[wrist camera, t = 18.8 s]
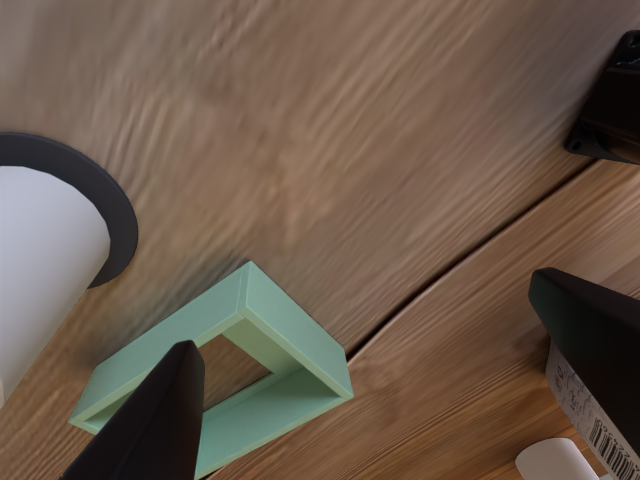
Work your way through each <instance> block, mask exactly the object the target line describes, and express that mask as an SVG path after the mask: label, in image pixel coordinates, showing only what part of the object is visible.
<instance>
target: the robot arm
mask: <svg viewBox="0 0 640 480" xmlns="http://www.w3.org/2000/svg"><path fill="white" fill-rule="evenodd" d="M632 38H633V41H632V43H631V44H630V41H631V39H632ZM575 142H576V144H575V146H573V144H574V143H575ZM564 149H565V150H566V151H568V152H570V153H573V154H579V155H584V156H590V157H596V158H601V159H607V160H613V161H618V162H624V163H630V164H635V165H640V30H630V31H628V32H626V33H625V34H624V35H623V36H622V38H621V39H620V41H619V43H618V45H617V46H616V48H615V50H614V52H613V54H612V56H611V58H610V60H609V61H608V63H607V65H606V67H605V69H604V71H603V73H602V74H601V76H600V78H599V80H598V82H597V84H596V86H595V87H594V89H593V91H592V93H591V95H590V97H589V99H588V101H587V102H586V104H585V106H584V108H583V110H582V112H581V114H580V115H579V117H578V119H577V121H576V123H575V125H574V127H573V129H572V130H571V132H570V134H569V136H568V138H567V140H566V142H565V144H564ZM528 297H529V301H530V303H531V305H532V306H533V308H534V310H535V311H536V313H537V315H538V316H539V318H540V320H541V321H542V323H543V325H544V326H545V328H546V330H547V331H548V333H549V335H550V336H551V338H552V340H553V341H554V343H555V345H556V346H557V348H558V349H559V351H560V352H561V354H562V355H563V357H564V358H565V360H566V361H567V362H568V364H569V365H570V366H571V368H572V369H573V370H574V372H575V373H576V374H577V376H578V377H579V378H580V380H581V381H582V382H583V384H584V385H585V386H586V388H587V389H588V390H589V392H590V393H591V394H592V396H593V397H594V398H595V400H596V401H597V402H598V404H599V405H600V406H601V408H602V409H603V410H604V412H605V413H606V414H607V416H608V417H609V418H610V420H611V421H612V422H613V424H614V425H615V426H616V428H617V429H618V430H619V432H620V433H621V434H622V436H623V437H624V438H625V440H626V441H627V443H628V444H629V445H630V447H631V448H632V449H633V451H634V452H635V453H636V455H637V456H638V457H639V459H640V301H639V300H637V299H634V298H631V297H629V296H626V295H623V294H621V293H618V292H616V291H613V290H610V289H608V288H605V287H602V286H600V285H597V284H595V283H592V282H589V281H587V280H584V279H581V278H579V277H576V276H574V275H571V274H568V273H566V272H563V271H560V270H558V269H555V268H552V267H547V268H542V269H537V270H535V271H534V272H533V273H532V277H531V282H530V287H529V292H528ZM204 376H205V365H204V360H203V358H202V356H201V354H200V352H199V350H198V348H197V346H196V345H195V343H194V341H192V340H185V341H180V342H177V343H175V344H174V345H173V346H172V347H171V348H170V349H169V351H168V352H167V353H166V354H165V355H164V356H163V358H162V359H161V360H160V361H159V362H158V363H157V365H156V366H155V367H154V368H153V369H152V370H151V372H150V373H149V374H148V375H147V376H146V377H145V379H144V380H143V381H142V382H141V383H140V384H139V386H138V387H137V388H136V389H135V390H134V391H133V392H132V394H131V395H130V396H129V397H128V398H127V399H126V401H125V402H124V403H123V404H122V405H121V406H120V408H119V409H118V410H117V411H116V412H115V413H114V415H113V416H112V417H111V418H110V419H109V420H108V422H107V423H106V424H105V425H104V426H103V427H102V429H101V430H100V431H99V432H98V433H97V434H96V436H95V437H94V438H93V439H92V440H91V441H90V443H89V444H88V445H87V446H86V447H85V448H84V450H83V451H82V452H81V453H80V454H79V455H78V457H77V458H76V459H75V460H74V461H73V462H72V463H71V465H70V466H69V467H68V468H67V469H66V470H65V472H64V473H63V477H59V478H58V480H194V477H195V470H196V464H197V457H198V451H199V444H200V438H201V431H202V420H203V399H204Z"/></svg>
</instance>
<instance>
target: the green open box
mask: <svg viewBox="0 0 640 480" xmlns="http://www.w3.org/2000/svg"><path fill="white" fill-rule="evenodd" d="M219 334H222V335H224V336H225V337H226V338H228V339H229V340H230V341H232V342H233V343H234V344H236V345H237V346H238V347H240V348H241V349H242V350H244V351H245V352H246V353H248V354H249V355H250V356H252V357H253V358H254V359H256V360H257V361H258V362H260V363H261V364H262V365H264V366H265V367H266V368H268V369H269V370H270V371H271V372H272V373H270V374H269V375H267V376H265V377H263V378H262V379H260V380H258V381H257V382H255V383H253V384H251V385H250V386H248V387H246V388H245V389H243V390H241V391H239V392H238V393H236V394H234V395H233V396H231V397H229V398H227V399H226V400H224V401H222V402H221V403H219V404H217V405H215V406H214V407H212V408H210V409H209V410H207V411H205V412H203V420H202V431H201V438H200V444H199V451H198V457H197V464H196V470H195V477H194V480H198V479H200V478H201V477H203V476H205V475H207V474H209V473H211V472H213V471H215V470H217V469H218V468H220V467H222V466H224V465H226V464H228V463H230V462H232V461H234V460H236V459H237V458H239V457H241V456H243V455H245V454H247V453H249V452H251V451H253V450H255V449H256V448H258V447H260V446H262V445H264V444H266V443H268V442H270V441H272V440H273V439H275V438H277V437H279V436H281V435H283V434H285V433H287V432H289V431H291V430H292V429H294V428H296V427H298V426H300V425H302V424H304V423H306V422H308V421H309V420H311V419H313V418H315V417H317V416H319V415H321V414H323V413H325V412H327V411H328V410H330V409H332V408H334V407H336V406H338V405H340V404H342V403H344V402H345V401H348V400H349V399H351V398H353V397H354V395H353V390H352V386H351V381H350V376H349V372H348V367H347V362H346V358H345V353H344V348H343V347H342V346H341V345H339V344H338V343H337V342H336V341H335V340H334V339H333V338H332V337H331V336H330V335H329V334H328V333H327V332H326V331H325V330H324V329H323V328H322V327H321V326H319V325H318V324H317V323H316V322H315V321H314V320H313V319H312V318H311V317H310V316H309V315H308V314H307V313H306V312H305V311H304V310H303V309H302V308H301V307H299V306H298V305H297V304H296V303H295V302H294V301H293V300H292V299H291V298H290V297H289V296H288V295H287V294H286V293H285V292H284V291H283V290H282V289H281V288H279V287H278V286H277V285H276V284H275V283H274V282H273V281H272V280H271V279H270V278H269V277H268V276H267V275H266V274H265V273H264V272H263V271H262V270H261V269H259V268H258V267H257V266H256V265H255V264H254V263H253V262H252V261H249V262H247V263H246V264H244V265H243V266H242V267H240V268H239V269H237V270H236V271H234V272H233V273H231V274H230V275H229V276H227V277H226V278H224V279H223V280H221V281H220V282H218V283H217V284H215V285H214V286H213V287H211V288H210V289H208V290H207V291H205V292H204V293H202V294H201V295H199V296H198V297H197V298H195V299H194V300H192V301H191V302H189V303H188V304H186V305H185V306H183V307H182V308H181V309H179V310H178V311H176V312H175V313H173V314H172V315H170V316H169V317H167V318H166V319H165V320H163V321H162V322H160V323H159V324H157V325H156V326H154V327H153V328H151V329H150V330H149V331H147V332H146V333H144V334H143V335H141V336H140V337H138V338H137V339H135V340H134V341H133V342H131V343H130V344H128V345H127V346H125V347H124V348H122V349H121V350H119V351H118V352H117V353H115V354H114V355H112V356H111V357H109V358H108V359H106V360H105V361H103V362H102V363H100V364H99V365H98V366H96V368H95V370H94V372H93V374H92V376H91V377H90V379H89V381H88V383H87V385H86V387H85V389H84V391H83V393H82V395H81V397H80V399H79V400H78V402H77V404H76V406H75V408H74V410H73V412H72V414H71V416H70V418H69V420H68V423H70V424H72V425H74V426H77V427H79V428H81V429H83V430H85V431H88V432H90V433H92V434H94V435H96V434H97V433H98V432H99V431H100V430H101V429H102V427H103V426H104V425H105V424H106V423H107V422H108V420H109V419H110V418H111V417H112V416H113V415H114V413H115V412H116V411H117V410H118V409H119V408H120V406H121V405H122V404H123V403H124V402H125V401H126V399H127V398H128V397H129V396H130V395H131V394H132V392H133V391H134V390H135V389H136V388H137V387H138V386H139V384H140V383H141V382H142V381H143V380H144V379H145V377H146V376H147V375H148V374H149V373H150V372H151V370H152V369H153V368H154V367H155V366H156V365H157V363H158V362H159V361H160V360H161V359H162V358H163V356H164V355H165V354H166V353H167V352H168V351H169V349H170V348H171V347H172V346H173V345H174V344H175V343H177V342H180V341H185V340H192V341H194V343H195V345H196V346H197V348H199V347H200V346H202V345H204V344H205V343H207V342H208V341H210V340H211V339H213V338H214V337H216V336H218V335H219Z"/></svg>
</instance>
